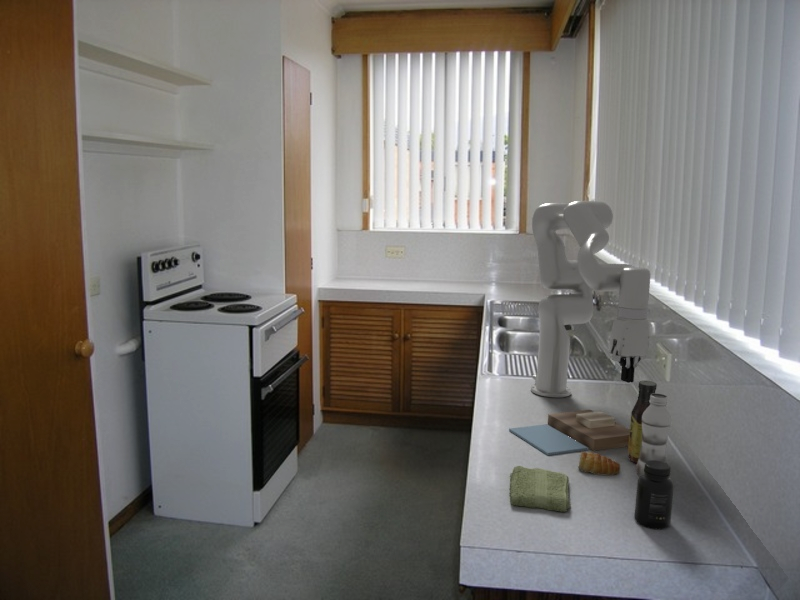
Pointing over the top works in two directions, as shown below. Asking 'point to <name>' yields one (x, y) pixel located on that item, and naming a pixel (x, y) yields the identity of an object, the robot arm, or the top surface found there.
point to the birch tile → (595, 419)
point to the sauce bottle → (639, 418)
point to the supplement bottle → (654, 496)
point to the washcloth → (539, 489)
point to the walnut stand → (590, 431)
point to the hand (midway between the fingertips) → (627, 381)
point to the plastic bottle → (654, 431)
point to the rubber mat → (548, 439)
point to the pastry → (598, 464)
